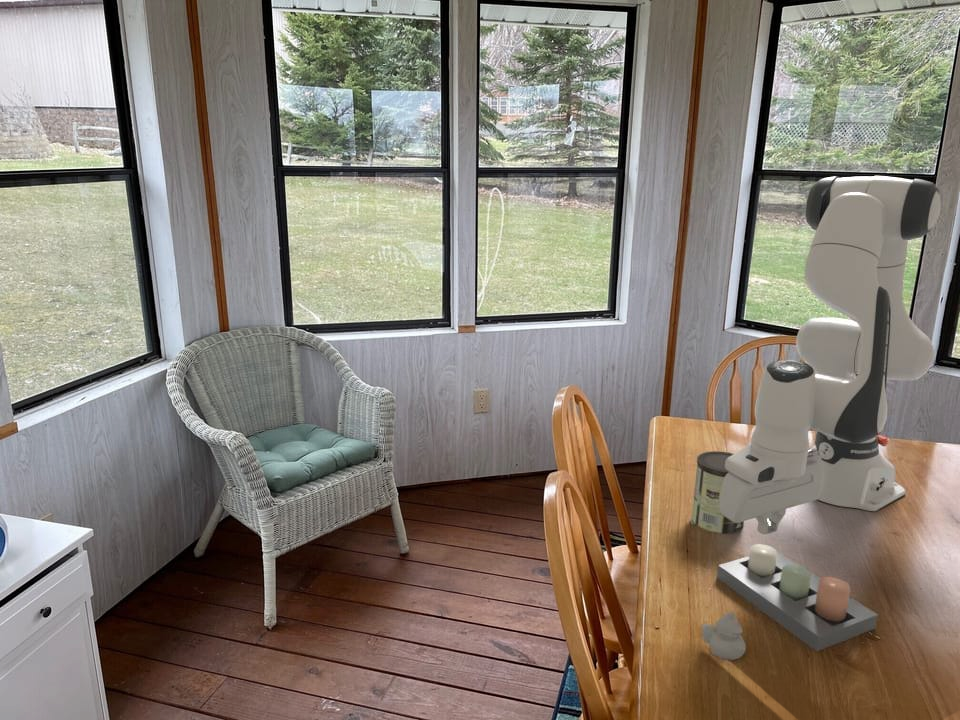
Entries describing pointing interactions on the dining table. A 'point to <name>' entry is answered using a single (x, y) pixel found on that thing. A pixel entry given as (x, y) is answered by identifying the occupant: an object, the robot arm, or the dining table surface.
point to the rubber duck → (725, 637)
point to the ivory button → (762, 560)
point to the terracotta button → (832, 598)
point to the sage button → (795, 581)
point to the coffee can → (711, 494)
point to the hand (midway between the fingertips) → (767, 531)
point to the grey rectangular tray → (795, 605)
